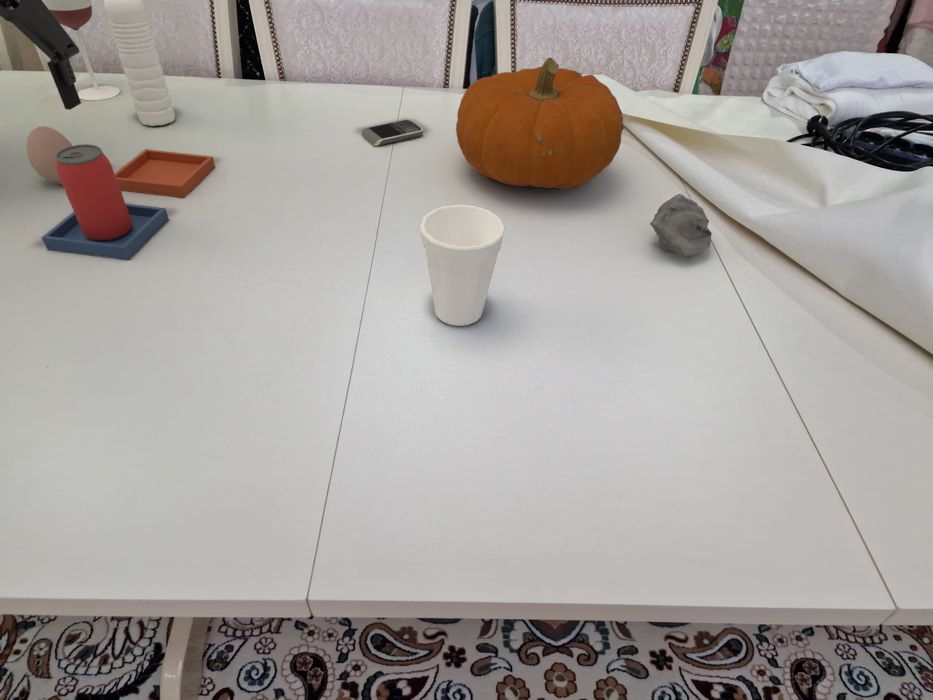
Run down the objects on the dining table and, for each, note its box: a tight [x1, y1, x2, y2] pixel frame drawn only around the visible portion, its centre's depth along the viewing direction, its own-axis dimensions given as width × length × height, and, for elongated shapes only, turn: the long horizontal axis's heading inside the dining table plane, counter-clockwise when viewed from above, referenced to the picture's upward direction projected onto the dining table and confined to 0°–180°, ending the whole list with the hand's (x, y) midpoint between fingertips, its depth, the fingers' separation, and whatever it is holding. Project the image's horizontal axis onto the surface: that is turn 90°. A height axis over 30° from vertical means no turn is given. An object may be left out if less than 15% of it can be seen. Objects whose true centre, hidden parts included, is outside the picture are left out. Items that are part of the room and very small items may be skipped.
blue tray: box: [41, 202, 170, 261], centre depth 89 cm, size 12×11×2 cm
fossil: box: [649, 193, 713, 259], centre depth 92 cm, size 11×9×8 cm
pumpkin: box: [455, 57, 625, 189], centre depth 104 cm, size 28×28×20 cm
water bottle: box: [103, 0, 176, 127], centre depth 113 cm, size 9×6×25 cm
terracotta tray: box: [114, 148, 216, 199], centre depth 103 cm, size 12×11×2 cm
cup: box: [419, 204, 506, 327], centre depth 76 cm, size 10×10×13 cm
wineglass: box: [42, 0, 121, 101], centre depth 122 cm, size 9×10×22 cm
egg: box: [26, 125, 73, 185], centre depth 98 cm, size 7×7×9 cm
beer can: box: [55, 143, 133, 241], centre depth 86 cm, size 7×7×12 cm
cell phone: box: [361, 119, 424, 147], centre depth 120 cm, size 6×11×1 cm, turn 124°
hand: (31, 102), depth 92 cm, fingers open, 13 cm apart
